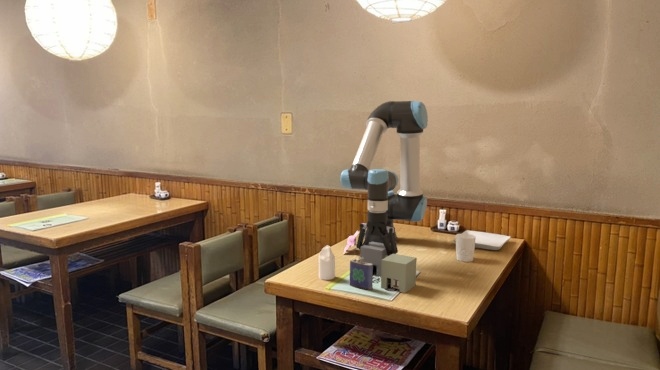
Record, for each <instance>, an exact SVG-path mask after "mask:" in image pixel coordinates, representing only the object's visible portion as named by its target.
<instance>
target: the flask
mask: <svg viewBox="0 0 660 370" xmlns="http://www.w3.org/2000/svg"><path fill="white" fill-rule="evenodd" d="M363 259H364V258H363V257H362V258H361V257H360V256H359V257H358V258H357V259H356V258H354V259H350V261H349V286H351V287H353V288H356V289H361V290H366V291H372V290H373V273H374V272H373V270H374V267H373V264H371V263H366V262H363Z"/></svg>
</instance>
